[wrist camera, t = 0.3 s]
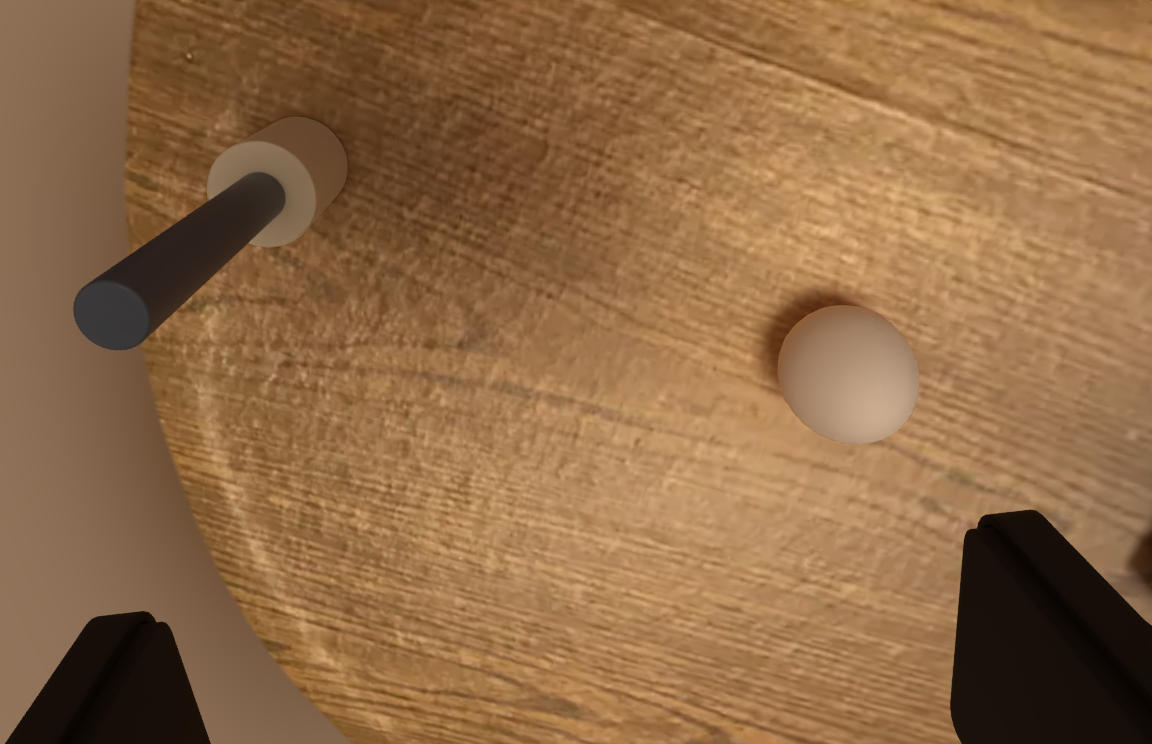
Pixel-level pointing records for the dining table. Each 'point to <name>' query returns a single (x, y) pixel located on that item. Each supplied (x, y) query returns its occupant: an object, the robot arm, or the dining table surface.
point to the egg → (848, 374)
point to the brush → (218, 229)
